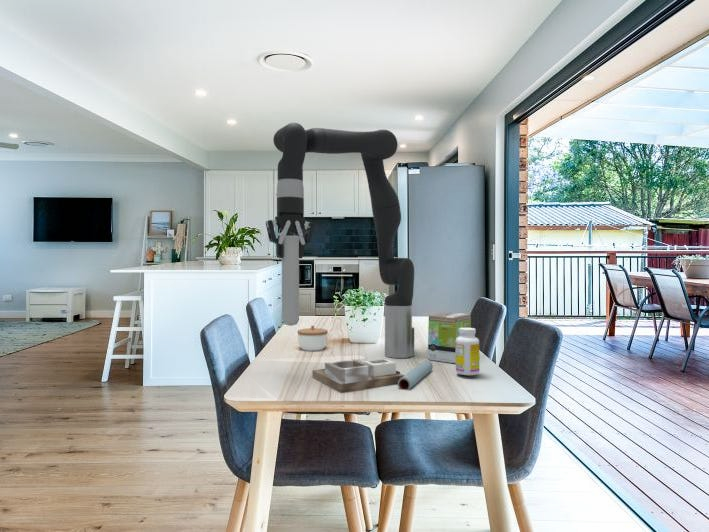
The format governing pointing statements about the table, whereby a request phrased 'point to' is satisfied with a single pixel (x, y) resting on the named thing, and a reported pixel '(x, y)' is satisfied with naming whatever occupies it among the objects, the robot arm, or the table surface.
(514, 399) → the table surface
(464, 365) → the supplement bottle
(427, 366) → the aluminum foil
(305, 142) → the robot arm
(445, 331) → the tea box
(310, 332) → the lidded jar
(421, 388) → the table surface
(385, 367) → the white hollow block
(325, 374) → the desk organizer tray
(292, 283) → the tube
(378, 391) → the table surface
